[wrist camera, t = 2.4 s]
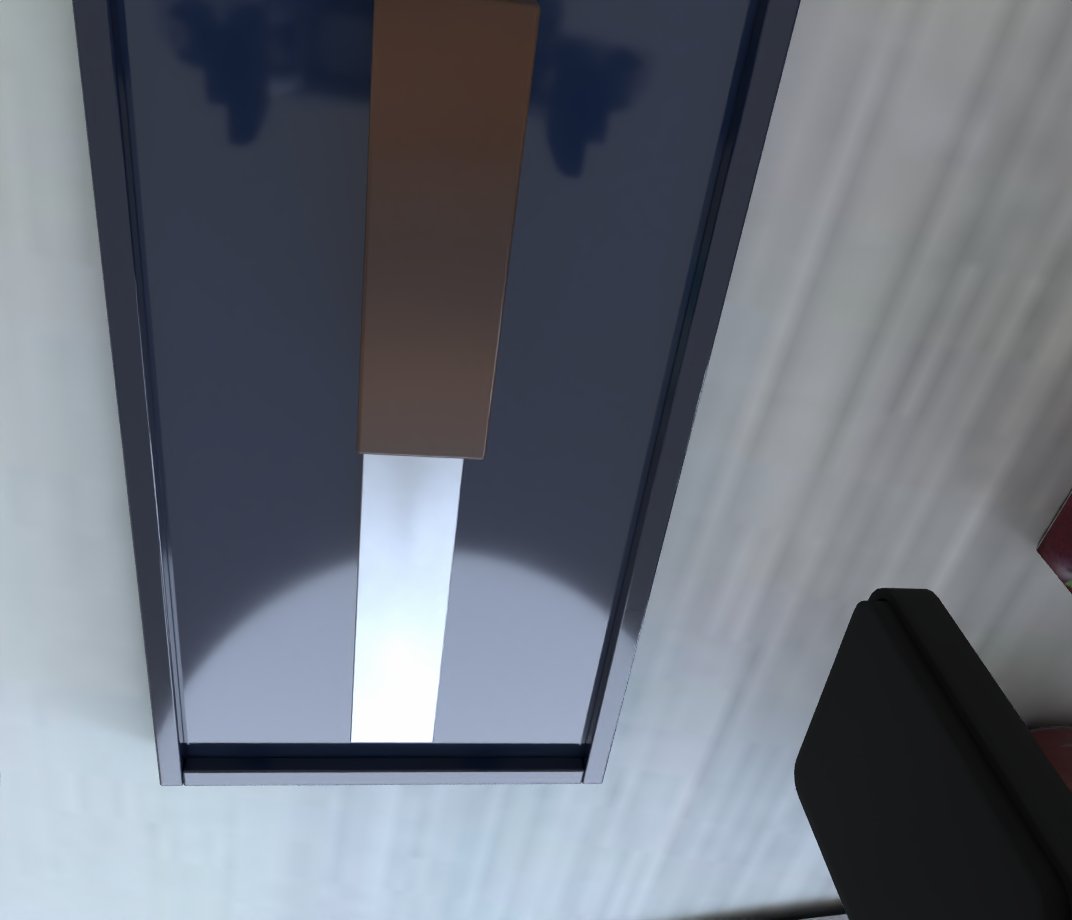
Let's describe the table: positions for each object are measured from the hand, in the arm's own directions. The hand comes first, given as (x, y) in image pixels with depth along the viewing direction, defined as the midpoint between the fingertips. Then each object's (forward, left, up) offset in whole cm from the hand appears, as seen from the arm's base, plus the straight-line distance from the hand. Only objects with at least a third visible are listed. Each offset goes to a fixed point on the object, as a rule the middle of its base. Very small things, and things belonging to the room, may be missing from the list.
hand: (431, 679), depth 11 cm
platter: (+4, 0, -12) cm, 12 cm away
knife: (+4, 0, -11) cm, 12 cm away
